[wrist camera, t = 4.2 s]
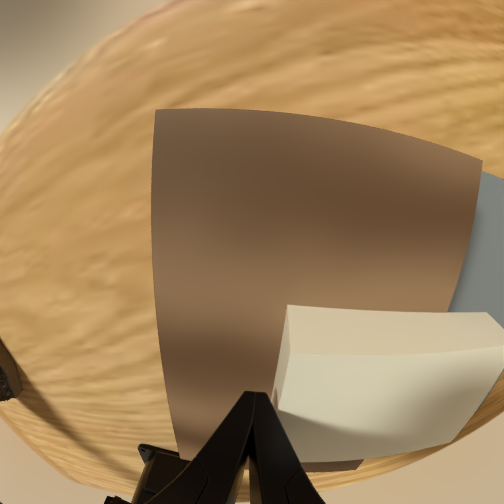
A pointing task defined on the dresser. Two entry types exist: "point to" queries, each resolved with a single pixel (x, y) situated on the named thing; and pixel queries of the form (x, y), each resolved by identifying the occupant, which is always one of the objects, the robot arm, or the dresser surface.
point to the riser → (289, 242)
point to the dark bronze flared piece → (8, 376)
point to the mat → (484, 257)
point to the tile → (381, 379)
